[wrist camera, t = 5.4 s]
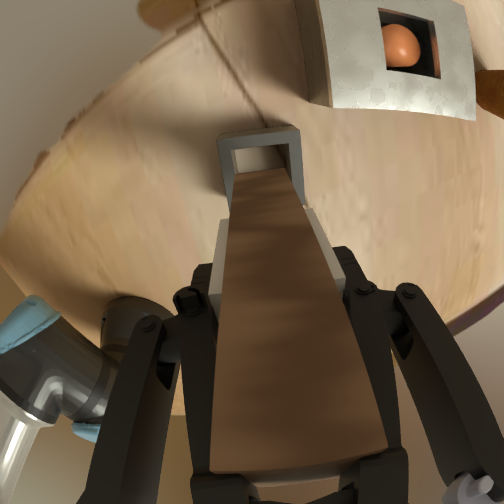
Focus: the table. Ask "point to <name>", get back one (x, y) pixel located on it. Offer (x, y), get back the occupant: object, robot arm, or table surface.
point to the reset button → (400, 46)
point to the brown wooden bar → (285, 349)
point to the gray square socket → (262, 138)
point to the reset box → (373, 56)
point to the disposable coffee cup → (490, 91)
